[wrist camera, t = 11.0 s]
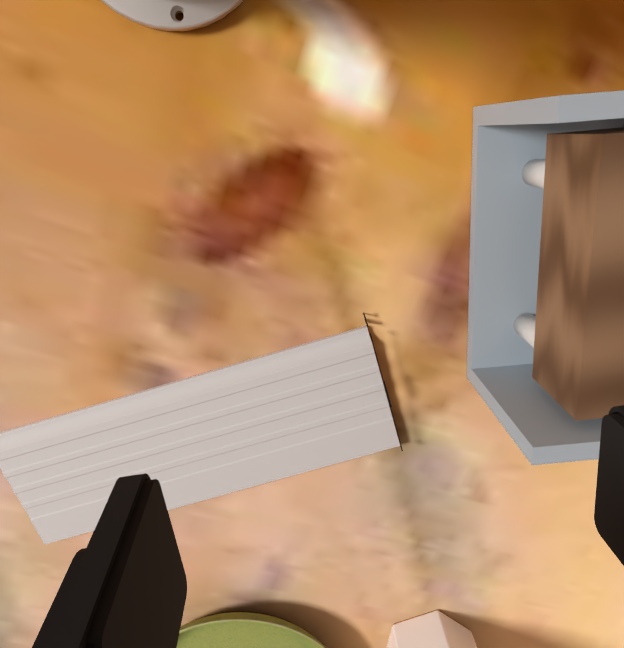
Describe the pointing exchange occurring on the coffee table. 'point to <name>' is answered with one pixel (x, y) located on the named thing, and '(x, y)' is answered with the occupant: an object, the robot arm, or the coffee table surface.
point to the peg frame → (521, 267)
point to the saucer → (244, 632)
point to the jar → (430, 633)
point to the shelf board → (582, 273)
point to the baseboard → (204, 433)
